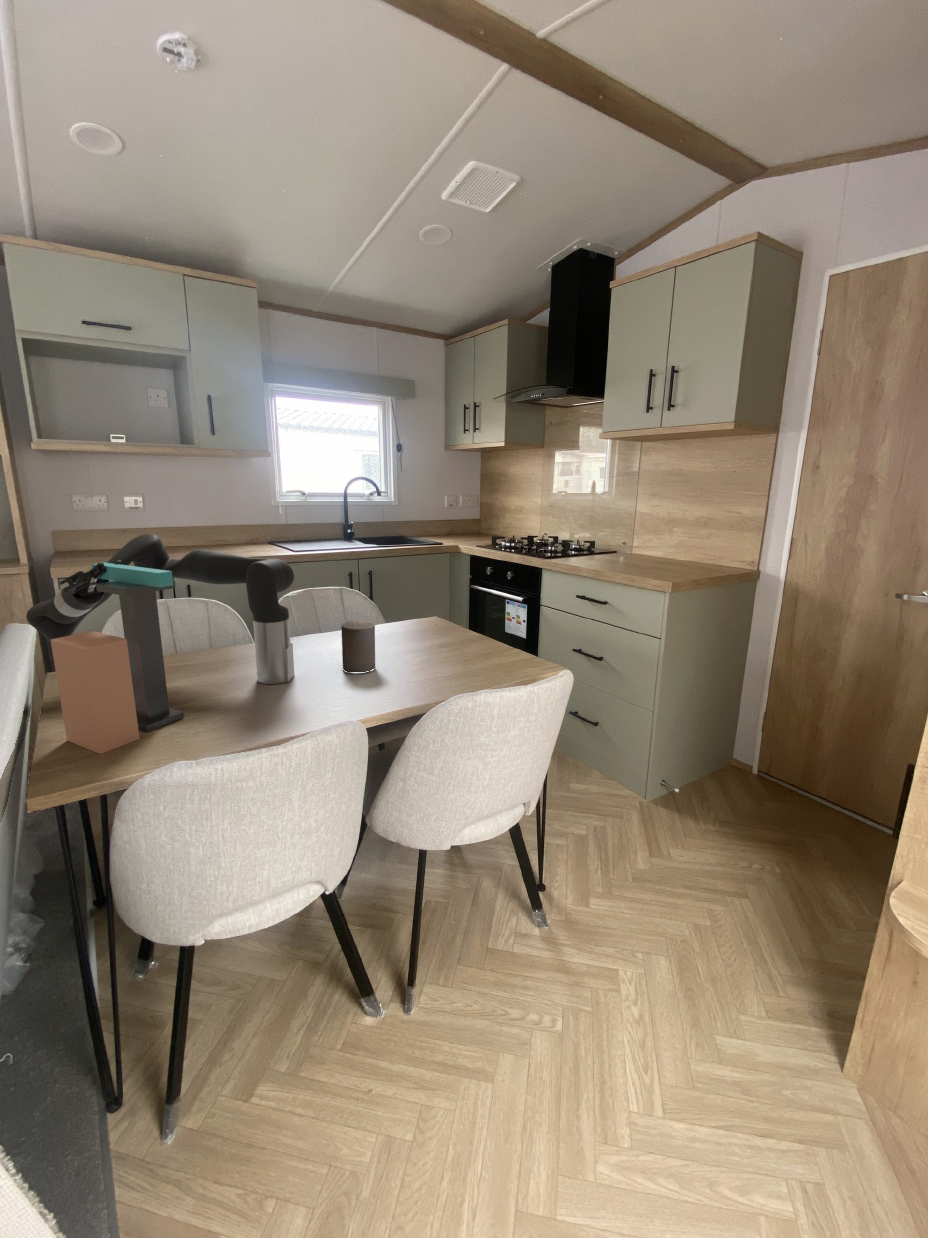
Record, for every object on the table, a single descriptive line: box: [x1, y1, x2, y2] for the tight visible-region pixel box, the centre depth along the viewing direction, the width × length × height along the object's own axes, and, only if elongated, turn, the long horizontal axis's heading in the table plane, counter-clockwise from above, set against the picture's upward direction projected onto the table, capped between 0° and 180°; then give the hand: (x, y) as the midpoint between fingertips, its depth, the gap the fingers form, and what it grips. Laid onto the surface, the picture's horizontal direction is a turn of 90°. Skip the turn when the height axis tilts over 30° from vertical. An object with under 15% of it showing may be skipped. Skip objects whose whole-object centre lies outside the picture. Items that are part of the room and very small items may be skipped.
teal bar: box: [91, 562, 174, 588], centre depth 119 cm, size 22×3×3 cm, turn 64°
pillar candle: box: [341, 619, 376, 672], centre depth 162 cm, size 10×10×15 cm
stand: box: [96, 580, 185, 734], centre depth 123 cm, size 10×11×32 cm
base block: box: [50, 630, 140, 755], centre depth 114 cm, size 12×8×22 cm, turn 62°
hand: (111, 565), depth 122 cm, fingers open, 3 cm apart
